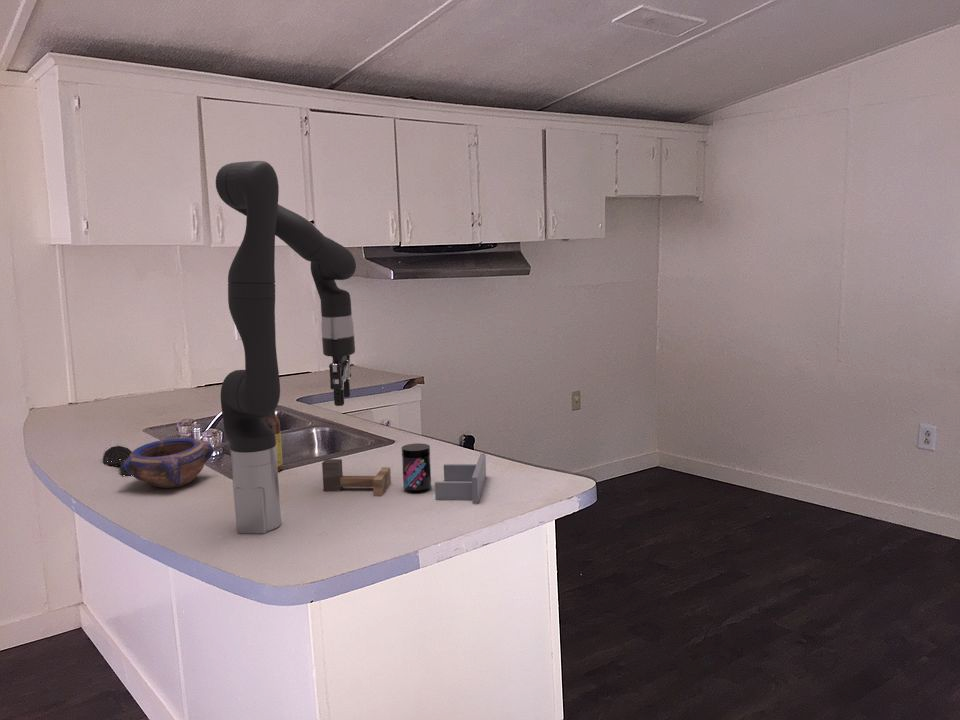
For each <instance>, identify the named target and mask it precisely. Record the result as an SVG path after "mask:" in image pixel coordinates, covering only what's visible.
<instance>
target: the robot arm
mask: <svg viewBox="0 0 960 720" xmlns="http://www.w3.org/2000/svg"><path fill="white" fill-rule="evenodd" d="M278 180H279V179H278V175H277V173H276V170H275V168H274V167H273V166H272V165H271V163H269V162H268V161H264V160H251V161H249V160H248V161H235V162H231V163H227V164H224V165H223V166H221V168H219V170H218V171H217V173H216V177H215V189H216V192H217V194H218V197H219V198H220V199H221V200H222V202H223V203H225V204H226V205H227V206H228V207H230V208H232V209H233V210H235V211H236V212H239V213H240V214H242V215H244V216H246V220H245V221H246V222H245V223H246V225H245V231H244V235H243V239H242V241H241V243H240V246H238V247H239V248H238V249H237V252H236V253H235V256H234V258H233V259H232V262H231V264H230V266H229V270H228V273H227V274H228V275H227V300H228V301H227V302H228V309H229V313H230V316H231V318H232V321H233V323H234V325H235V328H236V330H237V332H238V334H239V337H240V339H241V342H242V345H243V351H244V366H245V367H244V369H235V370H233V371H230V373H228V374H227V375H226V376H225V378H224V379H223V381H222V383H221V387H220V405H221V414H222V422H223V429H224V430H223V431H224V434H225V436H226V438H227V440H228V442H229V448H230V465H231V477H232V478H231V480H232V490H233V491H232V492H233V503H234V513H235V526H236V534H266V533H267V532H269V531H272V530H276V529H277V528H279V527H280V526H281V525H282V513H281V512H282V511H281V502H280V501H281V500H280V499H281V498H280V483H279V473H278V468H277V452H276V438H275V433H274V431H273V430H272V429H270V428H269V427H268V426H267V425H266V424H265V422H264V421H263V419H262V417H266V416H269V415H270V414H272V413H273V412H274V410H275V411H276V409H277V408H278V404H279V402H280V398H281V382H280V372H279V365H278V364H279V363H278V355H277V344H276V343H277V341H276V334H277V333H276V275H275V274H276V273H275V272H276V271H275V262H276V261H275V259H276V258H275V257H276V256H275V255H276V254H275V252H276V251H275V249H276V248H275V247H276V237H277V238H279V239H280V240H281V241H282V242H284V244H286V245H287V246H288V247H290V248H291V249H292V250H293V251H294V252H295V253H296V254H298V256H300V257H301V258H302V259H304V260H305V261H307V262H310V273H311V277H312V278H313V282H314V285H315V288H316V291H317V294H318V296H319V300H320V314H321V323H320V324H321V325H320V326H321V328H320V329H321V339H322V353H323V355H324V356H326V357H331V358H332V362H331V363H329V365H328V367H329V382H330V386H329V387H330V390H332V391H333V402H334V406H336V407H342V406H344V405H345V398H350V397H351V388H350V387H351V386H350V384H351V383H350V382H351V377H352V370H351V355H354V354H355V353H356V345H355V344H356V342H355V329H354V321H353V316H352V315H353V313H352V300H351V294H350V292H349V291H347V290H345V289H342V288H339V287H338V285H337V283H336V281H345V280H348V279H351V278H352V277H353V275H354V274H355V273H356V269H357V261H356V259H355V257H354V255H353V254H352V252H351V251H350V250H349V249H348V248H346V247H345V246H344V245H342V244H340V243H338V242H336V241H335V240H333V239H331V238H329V237H327V236H325V235H324V233H322V232H321V231H320V230H319V229H318V228H317V227H316V226H315V225H314V224H313V223H312V222H310V221H309V220H308V219H306V217H303V216H302V215H300V214H298V213H296V212H294V211H292V210H290V209H289V208H286V207H284V206H282V205H280V204H279V193H280V192H279V191H280V189H279V181H278Z"/></svg>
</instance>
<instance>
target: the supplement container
mask: <svg viewBox="0 0 960 720" xmlns="http://www.w3.org/2000/svg"><path fill="white" fill-rule="evenodd" d="M401 463H402V464H401V465H402V484H403V490H404V491H405V492H406V493H409V494H422V492H423V493H426V492H429V491H430V490H431V488H432V472H431V471H432V469H431V467H432V466H431V465H432V464H431V445H429V444H427V443H419V442H418V443H407V444H404V445H402V447H401Z"/></svg>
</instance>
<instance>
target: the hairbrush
mask: <svg viewBox="0 0 960 720" xmlns="http://www.w3.org/2000/svg"><path fill="white" fill-rule="evenodd" d="M115 445H116V446H111V444H110V445H109V446H110V448H108V446H107V447H105V449H106V450H105V449H104V452H103V456H102V462H103V464H104V463H105V464H107V465H112V466H114V467H118V466H119V467H120V468H119V470H120V471H119V472H120V474H121V476H123V475H125V476H130V477H132V476H131V475H130V474H129V473H128V472H127V471H126V470H125V469H124V467H123V462H124V461H125V460H126V459H127V458H128V457H129V456H130V454H131V453H132V451H133V450H131V449H130V448H129V447H127V446H126V445H124V444H123V445H118V444H115ZM119 459H121V460H119ZM107 461H108V462H107ZM111 461H112V462H111ZM105 464H104V465H105ZM107 465H106V466H107Z"/></svg>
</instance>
